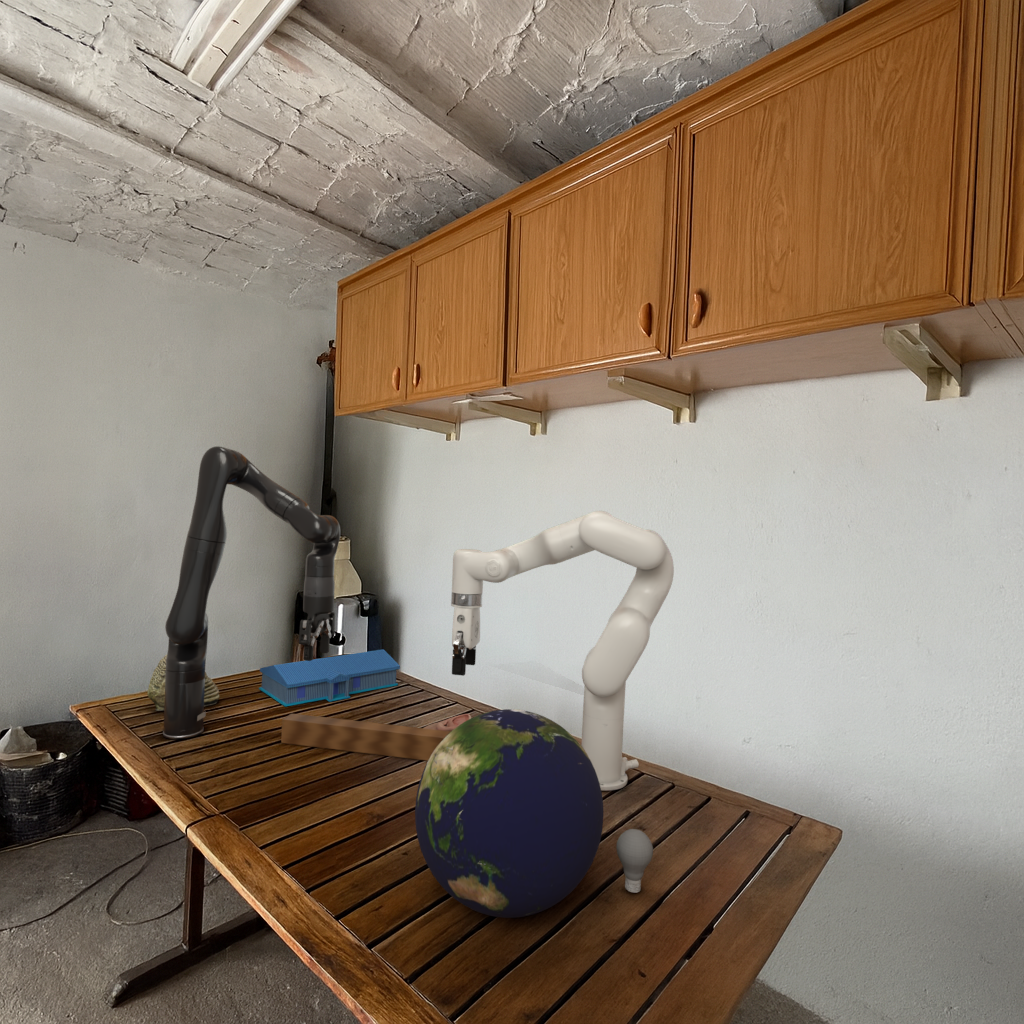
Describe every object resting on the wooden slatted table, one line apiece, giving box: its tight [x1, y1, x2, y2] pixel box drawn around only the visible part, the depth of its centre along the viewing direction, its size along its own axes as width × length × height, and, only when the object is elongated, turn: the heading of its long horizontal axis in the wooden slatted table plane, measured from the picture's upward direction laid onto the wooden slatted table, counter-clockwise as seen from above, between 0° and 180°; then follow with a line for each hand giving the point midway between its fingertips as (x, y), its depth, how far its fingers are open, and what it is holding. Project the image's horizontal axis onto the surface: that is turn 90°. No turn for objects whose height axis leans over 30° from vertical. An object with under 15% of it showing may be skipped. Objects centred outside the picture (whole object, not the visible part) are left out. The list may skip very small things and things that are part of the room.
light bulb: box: [615, 828, 654, 894], centre depth 106 cm, size 6×6×10 cm
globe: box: [414, 708, 604, 919], centre depth 101 cm, size 30×30×30 cm
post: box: [280, 713, 451, 762], centre depth 159 cm, size 54×5×6 cm, turn 80°
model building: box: [258, 649, 401, 707], centre depth 208 cm, size 39×24×10 cm, turn 132°
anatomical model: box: [423, 713, 472, 731], centre depth 174 cm, size 13×4×12 cm
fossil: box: [147, 654, 221, 712], centre depth 185 cm, size 9×18×15 cm, turn 132°
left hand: (316, 656), depth 162 cm, fingers open, 8 cm apart
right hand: (463, 669), depth 155 cm, fingers open, 9 cm apart
